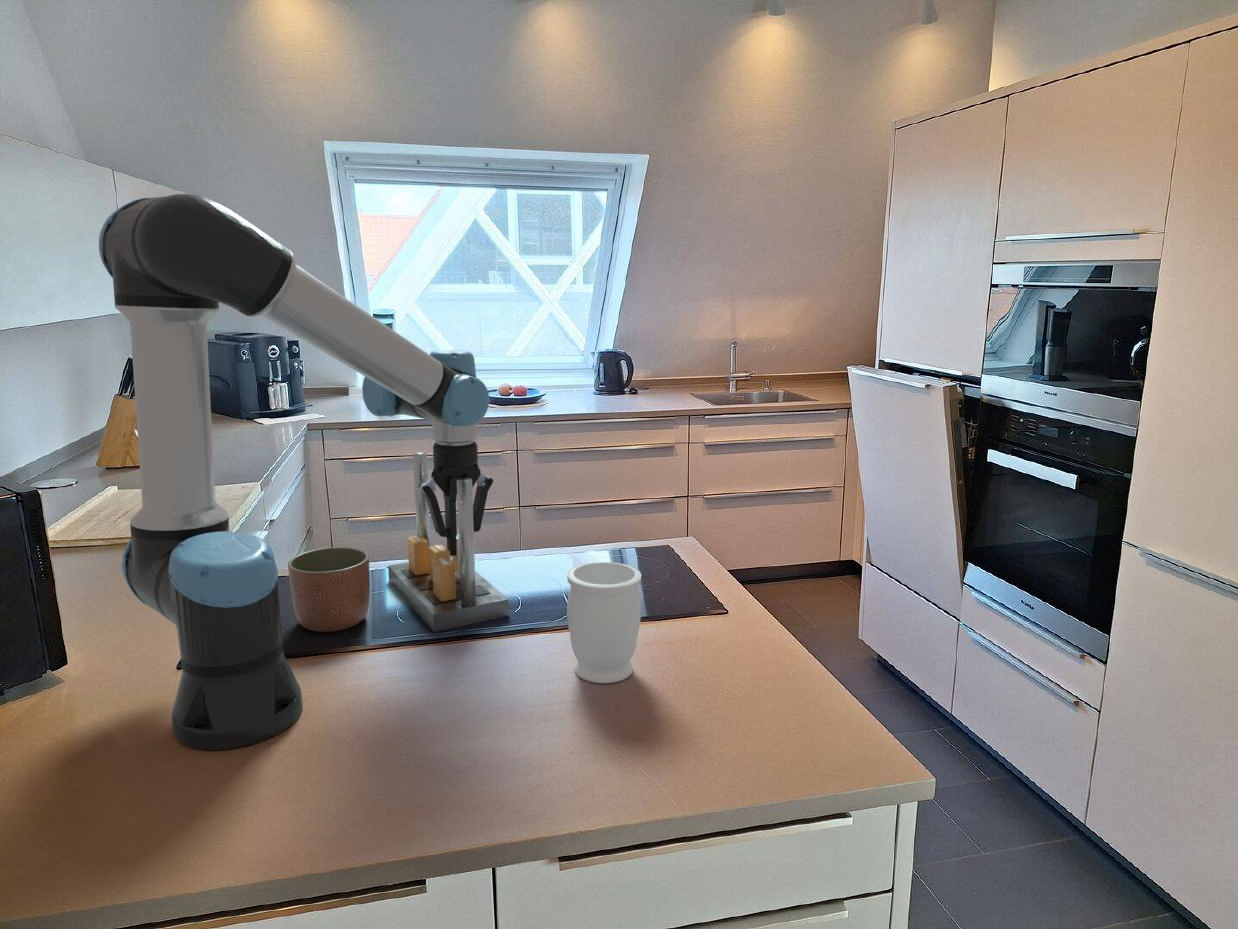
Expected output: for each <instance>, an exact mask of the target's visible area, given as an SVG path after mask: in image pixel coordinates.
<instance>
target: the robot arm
mask: <svg viewBox="0 0 1238 929" xmlns="http://www.w3.org/2000/svg"><path fill="white" fill-rule="evenodd" d="M98 250H99V251H98V252H99V256H100V260H101V261H102V265H103V266H104V268H105V270H106V272H107V273H108V275H109V276H110V277H111V278H112V283H113V297H114V308H115V309H116V310H118V311H119V312H120V314H122V315H123V316H124V317H125V318H126V319H127V320H128V321H129V326H130V327H129V328H130V341H131V354H132V367H133V368H132V369H133V370H132V371H133V383H134V385H133V386H134V398H135V414H136V415H135V416H136V428H137V443H138V457H139V458H138V460H139V471H140V472H139V474H140V489H141V503H142V506H141V508H140V509H138V511H137V512H136V513H135V514H133V516H132V517H131V518H130V520H129V527H130V540H129V541H128V543H127V544H126V546H125V548H124V551H123V554H122V558H121V559H122V560H121V569H122V574H123V577H124V581H125V583H126V584H127V586H128V588H129V589H130V591H131V592H132V593H133V595H134V596H135V597H136V598H137V599H138V600H139V601H140V602H141V603H143V604H144V605H147V606H148V607H149V608H151V609H153V610H154V611H155V612H157V613H159V614H160V615H161V616H163V617H164V618H166V619H167V620H168V621H170V622H171V623H173V624H174V625H175V627H176V631H177V638H178V648H179V654H180V655H179V657H180V662H181V664H180V665H181V676H180V680H179V684H178V688H177V692H176V695H175V696H176V697H175V700H174V704H173V707H172V712H171V724H172V725H171V726H172V732H173V736H174V738H175V740H176V741H177V742H179V743H180V744H182V745H184V746H186V747H188V748H193V749H197V750H204V751H205V750H206V751H208V750H209V751H218V750H228V749H235V748H237V749H238V748H239V747H241V748H242V747H245V746H250V745H253V744H257V743H259V742H262V741H265V740H267V739H270V738H271V737H274V736H276V735H277V734H279V733H282V732H283V731H285V730H286V729H288V728H289V727H291V726H292V725H293V724H294V723H295V722H296V721H297V720H298V719H299V717H300V716H301V714H302V712H303V708H304V707H303V696H302V689H301V687H300V684H299V683H298V680H297V678H296V677H295V676H296V675H295V674H294V672H293V670H292V668H291V666H290V664H289V662H288V660H287V658H286V655H285V652H284V648H283V646H284V645H283V635H282V634H283V633H282V623H281V622H282V619H281V609H280V607H281V606H280V598H279V597H280V596H279V586H278V585H279V584H278V576H279V571H278V566H277V564H276V560H275V555H274V551H273V549H272V547H271V545H270V544H269V543H268V542H267V541H266V540H264V539H263V538H261V537H259V536H258V535H257V536H256V535H254V534H251V533H248V532H242V533H237V532H236V531H230V517H229V516H230V515H229V512H228V511H227V510H226V509H224V508H223V507H222V506H221V505H219V503H218V502H217V501H216V490H215V489H216V488H215V487H216V485H215V470H214V468H215V467H214V466H215V465H214V452H213V451H214V447H213V446H214V445H213V430H212V428H213V426H212V409H211V388H210V386H211V385H210V369H209V368H210V363H209V348H208V345H209V344H208V329H207V328H208V327H207V326H208V323H209V321H210V320H211V319H212V318H213V317H214V316H216V315H217V314H218V313H219V311H220V310H219V309H220V307H219V305H220V304H219V303H221V304H222V305H226V306H227V307H230V308H232V309H233V310H235V311H237V312H240V313H241V314H242V315H244V316H246V317H249V318H255V317H259V316H262V317H264V318H265V319H267V320H269V321H271V322H273V323H274V324H276V325H277V326H279V327H281V328H283V329H284V330H286V331H287V332H290V333H291V334H293V335H295V336H296V337H298V338H299V339H301V340H303V341H305V342H306V343H308V344H310V345H311V346H313V347H315V348H317V349H318V350H320V351H321V352H323V353H325V354H327V355H328V356H329V357H331V358H333V359H335V360H337V362H340V363H342V364H344V365H345V366H347V367H348V368H350V369H352V370H353V371H355V372H357V373H359V374H360V375H362V376H364V378H363V381H362V388H361V390H362V399H363V402H364V405H365V406H366V408H367V410H368V411H369V413H371V414H372V415H373V416H375V417H390V418H391V417H392V418H393V417H394V416H397V415H398V416H399V415H401V416H403V415H405V416H407V417H408V416H409V417H414V418H418V419H419V418H420V419H422V420H430V421H431V423H432V425H431V426H432V429H431V430H432V440H434V441H435V442H434V443H433V444H432V454H433V457H432V459H433V461H432V462H433V470H432V472H431V477H430V478H429V479H428V481H427V482H425V483H420V484H419V488H420V490H421V491H422V492H423V493H424V495H425V497H426V500H427V504H428V507H429V515H430V516H431V520H432V523H433V527H434V529H435V533H436V534H438V535H439V536H440V537H442V538H444V537H445V538H446V548H447V549H448V550H449V551H450V556H453V564H455V572H456V573H457V574H460V557H459V533H457V532H458V531H457V530H458V528H457V527H458V523H457V504H456V502H457V479H461V478H470V479H472V489H473V488H474V486H475V484H476V486H477V487H476V490H475V494H474V498H473V526H474V533H475V532H476V533H478V532H480V530H481V528H482V522H483V517H484V512H485V508H486V502H487V497H488V492H489V490H490V488H491V487H492V485H493V484H494V479H493V478H492V477H490V476H488V475H486V474H482V473H481V469H480V467H479V463H478V462H479V456H478V454H479V453H478V452H479V451H478V443H477V442H476V440H477V438H478V423H480V422H481V421H482V420H483V418H485V416H486V413H487V411H488V409H489V407H490V406H489V404H490V393H489V390H488V387H487V386H486V385H485V383H484V382H483V381H482V380H481V379H479V378H477V374H476V372H477V371H476V363H475V362H476V361H475V356H474V355H473V353H472V352H470V351H468V350H463V349H462V350H461V349H442V350H439V349H438V350H432V351H431V352H430V353H428V352H426V351H424V350H423V349H422V348H420V347H419V346H417V345H415V344H414V343H413V342H411V341H410V340H408V339H407V338H406V337H404V336H403V335H401V334H400V333H398V332H397V331H395V330H394V329H392V328H391V327H389V326H388V325H387V324H384V323H383V322H382V321H380V320H379V319H378V318H376V317H375V316H373V315H371V314H370V313H368V312H367V311H365V310H364V309H363V308H361V307H360V306H358V305H357V304H355V302H352V301H351V300H349V299H347V297H345V296H343V295H341V293H338V292H337V291H336V290H334V289H333V288H331V287H330V286H328V284H325V283H324V282H323V281H321V280H319V279H318V278H316V277H315V276H313V275H312V274H311V273H310V272H308V271H307V270H305V269H304V268H302V267H301V266H299V265H298V264H296V261H295V256H294V253H293V252H292V251H291V250H290V249H288V248H287V247H285V245H282V244H281V243H280V242H278V240H275V239H274V238H273V237H272V236H270V235H269V234H267V233H266V232H264V231H263V230H261V229H260V228H258V227H257V226H255V225H254V224H252V223H251V222H249V221H248V220H246V219H245V218H244V217H242V216H240V215H239V214H237V213H236V212H234V211H233V210H232V209H229V208H228V207H226V206H224V205H222V204H220V203H218V202H216V201H214V200H213V199H209V198H207V197H203V196H200V195H196V194H191V193H189V194H188V193H179V194H177V193H176V194H171V195H167V196H166V195H165V196H157V197H143V198H139V199H135V200H131V201H130V202H127V203H125V204H123V205H122V206H121V207H119V208H117V209H116V210H115V211H113V212H112V213H111V214H110V215H109V216H108V217H107V219H106V220H105V221H104V223H103V224H102V227H101V230H100V233H99V236H98ZM436 486H437V487H438V488H439V489H440V491H441V492H442V493H443V494H442V495H443V500H444V519H443V514H442V511H441V508H440V505H439V500H438V499H437V498H438V497H437V496H436V494H435V493H436V489H437V488H436Z"/></svg>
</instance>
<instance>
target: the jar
mask: <svg viewBox="0 0 1238 929" xmlns="http://www.w3.org/2000/svg"><path fill="white" fill-rule="evenodd" d="M641 582H642V573H641V572H640V571H639V569H637V568H635V567H634V566H631V565H628V564H624V563H620V562H613V561H612V562H611V561H593V562H586V563H582V564H579V565H576V566H573V567H572V568H570V570H568V572H567V583H568V584H569V585H570V589H569V590H568V595H567V596H568V597H567V607H566V617H567V626H568V632H569V636H570V638H569V639H570V644H571V649H572V651H573V654H574V656H575V658H576V660H577V661H576V662H575V664H574V671H575V673H576V675H577V677H579V678H581V679H583V680H584V681H587V682H591V683H595V684H612V683H613V684H614V683H619V682H621V681H624V680H626V679H627V678H629V677H630V676H631V675H632V673H633V670H634V669H633V664H632V662H631V660H632V658H633V656H634V654H635V650H636V648H637V643H638V642H637V641H638V636H639V631H640V626H641V620H642V619H641V616H642V615H641V614H642V613H641V612H642V610H641V608H642V607H641V596H640V591H639V588H638V586H639V585H640V584H641Z"/></svg>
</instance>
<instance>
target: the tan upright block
mask: <svg viewBox="0 0 1238 929" xmlns="http://www.w3.org/2000/svg"><path fill="white" fill-rule="evenodd" d="M428 550H429V572H430V580H431V581H432V582H433V566H432V560H436V559H440V558H448V559H449V560H450V551H449V550H448V549H447V546H444V545H443V544H435V545H431V546H430V547H428Z"/></svg>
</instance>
